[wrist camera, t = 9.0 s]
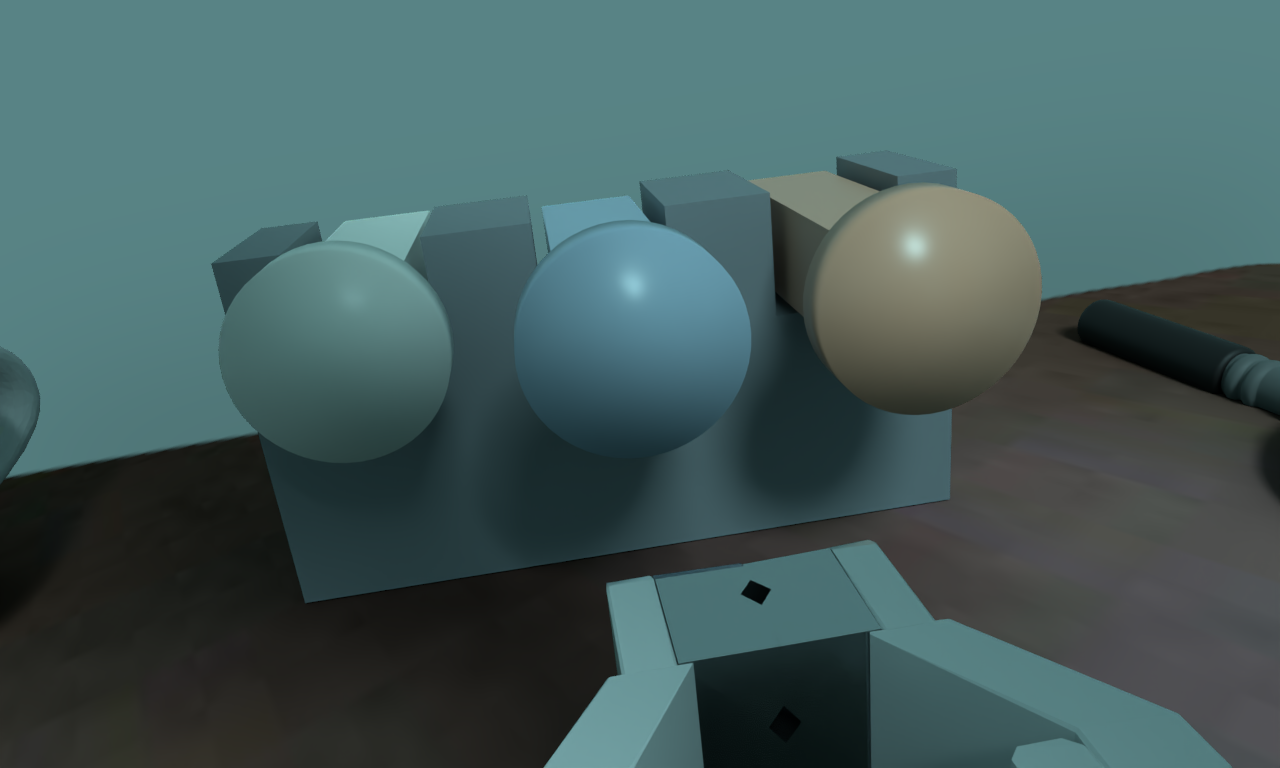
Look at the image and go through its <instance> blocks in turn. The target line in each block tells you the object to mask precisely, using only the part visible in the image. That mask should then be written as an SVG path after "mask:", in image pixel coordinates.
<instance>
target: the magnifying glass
mask: <svg viewBox="0 0 1280 768" xmlns="http://www.w3.org/2000/svg"><path fill="white" fill-rule="evenodd" d="M1078 334H1079V337H1080V339H1081V340H1082V341H1083V342H1085V343H1088V344H1090V345H1093V346H1095V347H1098V348H1100V349H1103V350H1105V351H1108V352H1110V353H1112V354H1115V355H1117V356H1120V357H1122V358H1125V359H1127V360H1130V361H1132V362H1135V363H1137V364H1140V365H1142V366H1145V367H1147V368H1150V369H1152V370H1155V371H1157V372H1160V373H1162V374H1165V375H1168V376H1170V377H1173V378H1175V379H1178V380H1180V381H1183V382H1185V383H1188V384H1190V385H1193V386H1195V387H1198V388H1200V389H1203V390H1205V391H1208V392H1210V393H1214V394H1223V393H1224V394H1225V395H1226V397H1227V398H1230V399H1233V400H1242V402H1243V404H1245V405H1247V406H1252V407H1259V408H1262V409H1265V410H1267V411H1270V412H1272V413H1275V414H1277V415H1280V362H1279V361H1276V360H1269V359H1268V358H1266V357H1264V356H1262V355H1259V354H1255V352H1254V351H1253V350H1251V349H1249V348H1247V347H1245V346H1242V345H1239V344H1236V343H1233V342H1230V341H1227V340H1224V339H1221V338H1218V337H1216V336H1213V335H1210V334H1207V333H1204V332H1201V331H1198V330H1195V329H1192V328H1189V327H1186V326H1183V325H1181V324H1178V323H1175V322H1172V321H1169V320H1166V319H1163V318H1160V317H1157V316H1154V315H1151V314H1149V313H1146V312H1143V311H1140V310H1137V309H1134V308H1131V307H1128V306H1125V305H1122V304H1119V303H1116V302H1113V301H1110V300H1099V301H1096V302H1094V303H1092V304H1091V305H1089V306H1088V307H1087V308H1086V309H1085V310H1084V312H1083V313H1082V315H1081V317H1080V319H1079V322H1078Z"/></svg>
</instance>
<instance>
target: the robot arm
mask: <svg viewBox="0 0 1280 768" xmlns="http://www.w3.org/2000/svg"><path fill="white" fill-rule="evenodd" d="M606 591H607V598H608V606H609V613H610V621H611V628H612V636H613V643H614V651H615V658H616V666H617V673H618V676H613V677H609V678H608V679H607V680H606V681H605V683H604V684H603V686H602V687H601V688H600V690H599V691H598V693H597V694H596V695H595V697H594V698H593V700H592V701H591V702H590V704H589V705H588V706H587V708H586V709H585V711H584V712H583V713H582V715H581V716H580V718H579V719H578V720H577V722H576V723H575V725H574V726H573V727H572V729H571V730H570V732H569V733H568V734H567V736H566V737H565V739H564V740H563V741H562V743H561V744H560V745H559V747H558V748H557V750H556V751H555V752H554V754H553V755H552V757H551V758H550V759H549V761H548V762H547V764H546V765H545V766H544V768H1233V767H1232V766H1231V765H1230V764H1229V763H1228V762H1227V761H1226V760H1225V759H1223V758H1222V757H1221V756H1220V755H1219V754H1218V753H1217V752H1216V751H1215V750H1214V749H1213V748H1212V747H1211V746H1210V745H1209V744H1208V743H1207V742H1206V741H1205V740H1204V739H1203V738H1202V737H1201V736H1200V735H1199V734H1198V733H1197V732H1196V731H1195V730H1194V729H1193V728H1192V727H1191V726H1190V725H1189V724H1188V723H1187V722H1186V721H1185V720H1184V719H1183V718H1182V717H1181V716H1180V715H1179V714H1178V713H1175V712H1173V711H1171V710H1168V709H1166V708H1163V707H1161V706H1159V705H1156V704H1154V703H1151V702H1149V701H1146V700H1144V699H1142V698H1139V697H1137V696H1134V695H1132V694H1129V693H1127V692H1125V691H1122V690H1120V689H1117V688H1115V687H1113V686H1110V685H1108V684H1105V683H1103V682H1100V681H1098V680H1096V679H1093V678H1091V677H1088V676H1086V675H1084V674H1081V673H1079V672H1076V671H1074V670H1071V669H1069V668H1067V667H1064V666H1062V665H1059V664H1057V663H1054V662H1052V661H1050V660H1047V659H1045V658H1042V657H1040V656H1038V655H1035V654H1033V653H1030V652H1028V651H1025V650H1023V649H1021V648H1018V647H1016V646H1013V645H1011V644H1009V643H1006V642H1004V641H1001V640H999V639H996V638H994V637H992V636H989V635H987V634H984V633H982V632H980V631H977V630H975V629H972V628H970V627H967V626H965V625H963V624H960V623H958V622H955V621H953V620H950V619H944V620H938V621H935V620H934V618H933V617H932V616H931V614H930V613H929V612H928V610H927V609H926V608H925V606H924V605H923V604H922V603H921V601H920V600H919V599H918V597H917V596H916V595H915V593H914V592H913V591H912V589H911V588H910V587H909V585H908V584H907V583H906V582H905V580H904V579H903V578H902V576H901V575H900V574H899V572H898V571H897V570H896V568H895V567H894V566H893V564H892V563H891V562H890V561H889V559H888V558H887V557H886V555H885V554H884V553H883V551H882V550H881V549H880V547H879V546H878V545H877V544H876V543H875V542H873V541H870V540H865V541H860V542H855V543H850V544H845V545H840V546H835V547H830V548H826V549H822V550H816V551H811V552H806V553H801V554H795V555H790V556H785V557H779V558H774V559H769V560H763V561H758V562H753V563H747V564H741V563H739V564H732V565H725V566H718V567H711V568H704V569H697V570H690V571H683V572H676V573H669V574H662V575H655V576H653V578H652V577H651V576H645V577H640V578H634V579H628V580H622V581H617V582H611V583H607V586H606Z"/></svg>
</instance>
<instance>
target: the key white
mask: <svg viewBox="0 0 1280 768" xmlns="http://www.w3.org/2000/svg"><path fill="white" fill-rule="evenodd" d="M429 217H430V211H422V212H413V213H405V214H397V215H389V216H381V217H373V218H366V219H358V220H350V221H344V222H343V223H342V225H341V226H340V227H339V228H338V229H337V230H336V231H335V232H334V233H333V234H332V235H331V236H330V237H329V238H328V239H327V240H326V241H321V242H316V243H311V244H306V245H303V246H300V247H297V248H294V249H292V250H290V251H288V252H286V253H284V254H282V255H280V256H279V257H277V258H276V259H274V260H273V261H271V262H270V263H269V264H268V265H266V266H265V267H264V268H263V269H262V270H261V271H260V272H258V273H257V274H256V275H255V276H254V277H253V278H252V279H251V280H250V281H248V282H247V283H246V284H245V285H244V286H243V288H242V289H241V290H240V291H239V292H238V294H237V295H236V296H235V298H234V300H233V301H232V303H231V305H230V306H229V308H228V310H227V313H226V315H225V318H224V320H223V324H222V328H221V332H220V338H219V363H220V368H221V373H222V377H223V380H224V383H225V386H226V389H227V391H228V393H229V395H230V397H231V399H232V401H233V403H234V404H235V406H236V407H237V409H238V410H239V412H240V413H241V414H242V416H243V417H244V418H245V419H246V420H247V421H248V422H249V424H251V426H252V427H253V428H254V429H256V430H257V431H258V432H259V433H260V434H261V435H262V436H264V437H265V438H267V439H268V440H270V441H271V442H272V443H274V444H275V445H277V446H279V447H281V448H283V449H285V450H287V451H289V452H291V453H294V454H296V455H299V456H302V457H305V458H309V459H313V460H317V461H323V462H330V463H353V462H362V461H367V460H372V459H376V458H379V457H382V456H385V455H387V454H390V453H392V452H394V451H396V450H398V449H400V448H402V447H403V446H405V445H406V444H408V443H409V442H411V441H412V440H413V439H414V438H416V437H417V436H418V435H419V434H420V433H421V432H422V431H423V430H424V429H425V428H426V427H427V426H428V425H429V424H430V422H431V421H432V420H433V418H434V417H435V415H436V414H437V412H438V411H439V408H440V406H441V404H442V402H443V400H444V398H445V394H446V391H447V388H448V384H449V379H450V373H451V368H452V362H453V348H454V343H453V334H452V329H451V325H450V321H449V317H448V315H447V312H446V310H445V307H444V305H443V303H442V302H441V300H440V298H439V296H438V295H437V293H436V292H435V290H434V289H433V288H432V286H431V285H430V284H429V282H428V278H427V272H426V267H425V262H424V257H423V251H422V246H421V241H420V236H421V234H422V232H423V230H424V228H425V226H426V223H427V221H428V219H429Z"/></svg>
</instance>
